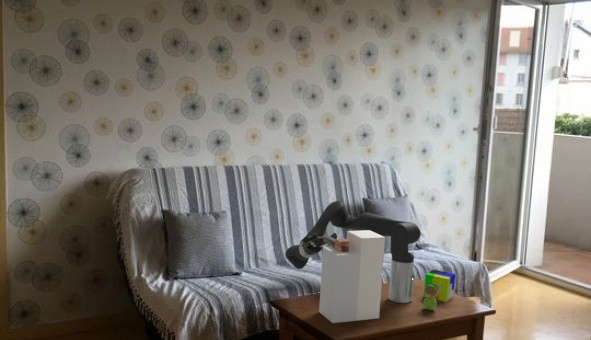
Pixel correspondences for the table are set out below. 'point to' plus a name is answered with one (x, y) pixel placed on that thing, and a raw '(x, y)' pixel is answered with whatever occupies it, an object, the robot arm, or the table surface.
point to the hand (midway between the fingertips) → (326, 235)
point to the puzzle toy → (446, 284)
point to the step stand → (353, 278)
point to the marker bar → (337, 243)
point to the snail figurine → (431, 296)
